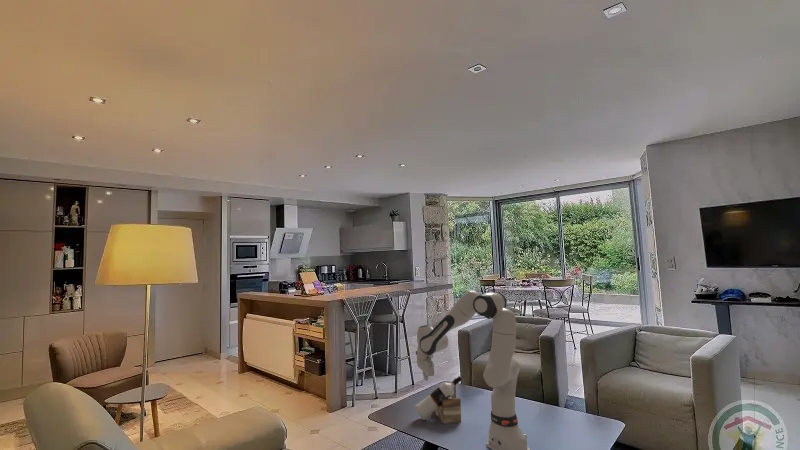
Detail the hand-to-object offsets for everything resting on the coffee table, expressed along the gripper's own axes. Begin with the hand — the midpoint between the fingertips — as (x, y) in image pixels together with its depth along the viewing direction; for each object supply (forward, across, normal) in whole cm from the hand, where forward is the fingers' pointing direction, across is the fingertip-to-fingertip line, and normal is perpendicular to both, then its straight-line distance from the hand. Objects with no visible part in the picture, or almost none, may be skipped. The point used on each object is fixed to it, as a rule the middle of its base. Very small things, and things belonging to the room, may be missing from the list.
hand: (425, 379), depth 213 cm
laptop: (+22, +20, -17) cm, 34 cm away
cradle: (+21, 0, -12) cm, 24 cm away
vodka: (+18, -1, +4) cm, 18 cm away
